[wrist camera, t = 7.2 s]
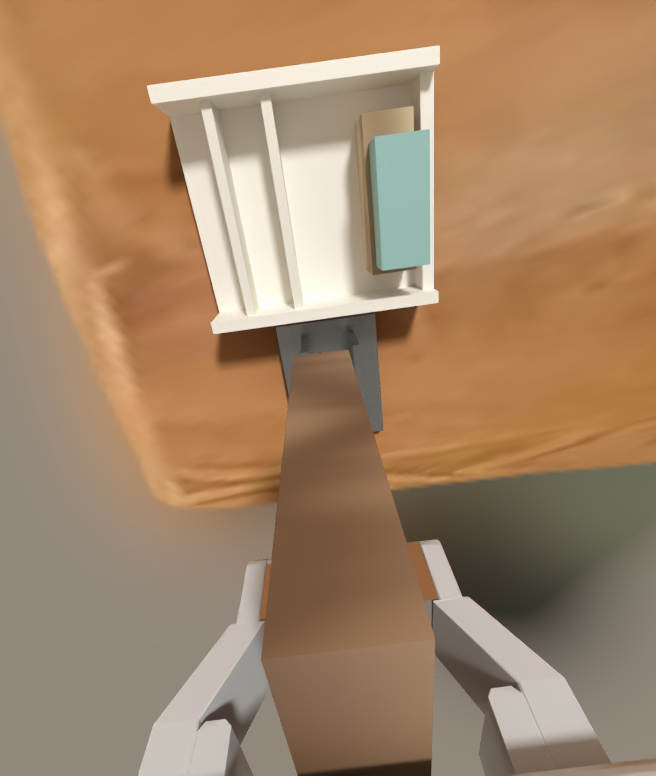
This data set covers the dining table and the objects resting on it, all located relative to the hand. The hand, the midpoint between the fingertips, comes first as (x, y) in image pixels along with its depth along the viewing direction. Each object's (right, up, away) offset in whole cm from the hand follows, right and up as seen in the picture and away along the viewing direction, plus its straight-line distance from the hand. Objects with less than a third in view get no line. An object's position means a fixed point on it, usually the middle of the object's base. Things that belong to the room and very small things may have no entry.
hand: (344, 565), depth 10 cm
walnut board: (0, +2, +5) cm, 6 cm away
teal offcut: (+4, +16, +13) cm, 21 cm away
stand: (0, +6, +22) cm, 23 cm away
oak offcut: (+3, +18, +16) cm, 24 cm away
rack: (-2, +18, +16) cm, 24 cm away
